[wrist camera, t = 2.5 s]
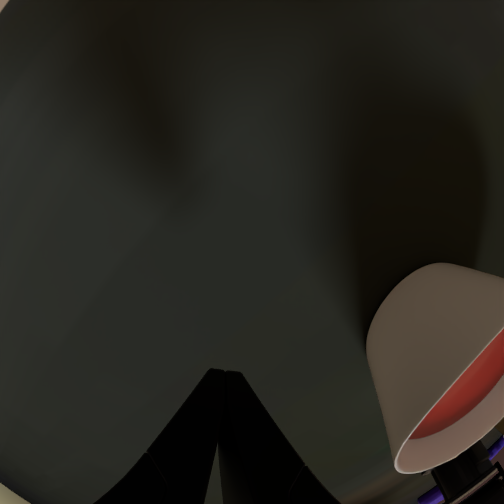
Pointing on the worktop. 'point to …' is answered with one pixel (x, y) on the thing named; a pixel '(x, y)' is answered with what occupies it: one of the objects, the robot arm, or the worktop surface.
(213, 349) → the worktop surface
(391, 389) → the candle
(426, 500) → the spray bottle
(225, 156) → the worktop surface
